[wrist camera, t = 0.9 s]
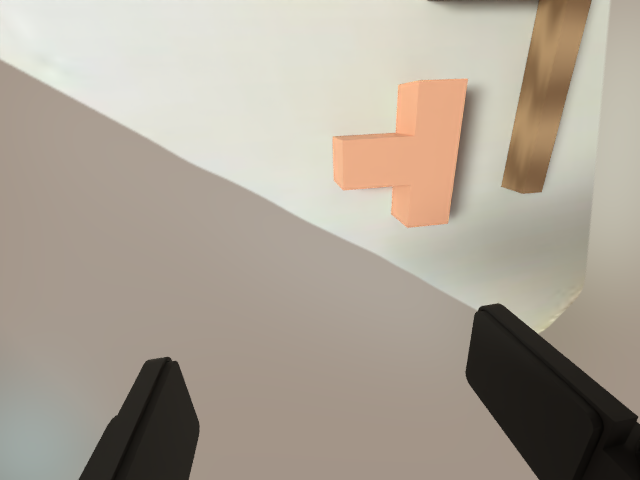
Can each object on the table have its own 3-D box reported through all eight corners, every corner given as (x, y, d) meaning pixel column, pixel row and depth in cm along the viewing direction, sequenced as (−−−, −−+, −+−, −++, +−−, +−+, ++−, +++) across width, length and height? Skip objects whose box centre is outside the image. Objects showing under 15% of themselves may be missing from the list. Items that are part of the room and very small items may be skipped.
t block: (331, 87, 25) (342, 83, 22) (440, 83, 27) (467, 78, 23) (334, 219, 30) (343, 234, 27) (427, 210, 32) (447, 223, 28)
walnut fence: (429, -32, 23) (450, -51, 20) (567, -31, 25) (604, -49, 22) (411, 194, 30) (424, 202, 28) (518, 185, 32) (541, 192, 29)
